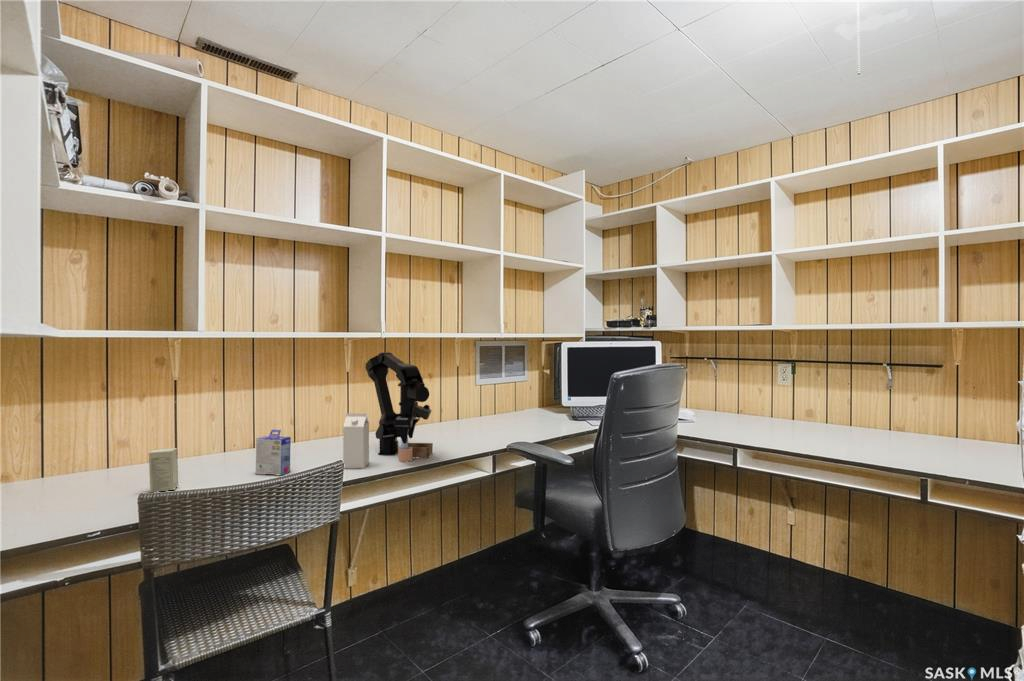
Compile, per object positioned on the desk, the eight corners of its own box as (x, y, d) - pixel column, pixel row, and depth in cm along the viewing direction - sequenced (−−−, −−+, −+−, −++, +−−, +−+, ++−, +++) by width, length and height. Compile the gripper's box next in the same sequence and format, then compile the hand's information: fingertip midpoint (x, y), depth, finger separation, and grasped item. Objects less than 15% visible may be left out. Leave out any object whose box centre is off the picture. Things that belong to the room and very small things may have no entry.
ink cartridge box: (291, 471, 171) (291, 429, 171) (281, 476, 166) (281, 432, 166) (265, 470, 173) (265, 428, 173) (254, 474, 168) (254, 431, 168)
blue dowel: (400, 460, 186) (397, 438, 186) (402, 458, 189) (399, 437, 189) (410, 459, 186) (407, 437, 186) (411, 457, 189) (408, 436, 189)
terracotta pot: (396, 462, 185) (396, 449, 185) (400, 458, 190) (400, 446, 190) (410, 462, 185) (410, 449, 185) (413, 458, 190) (413, 446, 190)
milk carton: (349, 463, 182) (349, 411, 182) (368, 463, 182) (369, 411, 182) (343, 468, 175) (343, 415, 175) (363, 469, 175) (363, 415, 175)
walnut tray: (402, 457, 191) (402, 447, 191) (407, 452, 199) (407, 442, 199) (428, 458, 191) (428, 447, 191) (432, 453, 199) (432, 443, 199)
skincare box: (178, 487, 154) (178, 447, 153) (173, 491, 149) (173, 450, 149) (154, 488, 152) (154, 448, 152) (148, 493, 148) (148, 452, 147)
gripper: (424, 403, 178) (424, 446, 178) (434, 396, 196) (433, 435, 196) (393, 402, 178) (393, 446, 178) (406, 396, 197) (405, 435, 197)
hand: (407, 440), depth 187 cm, fingers open, 9 cm apart
